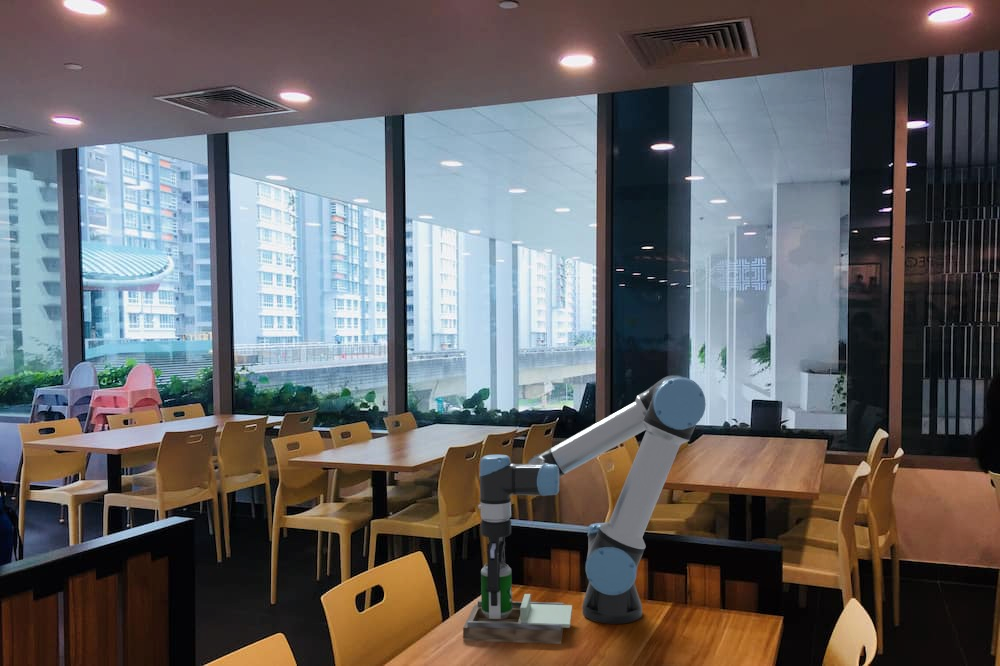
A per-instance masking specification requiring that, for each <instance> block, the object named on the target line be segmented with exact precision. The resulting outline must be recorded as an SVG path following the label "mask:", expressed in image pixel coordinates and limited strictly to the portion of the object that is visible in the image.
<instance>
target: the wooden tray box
mask: <svg viewBox="0 0 1000 666" xmlns="http://www.w3.org/2000/svg"><path fill="white" fill-rule="evenodd" d="M521 604H522V601H513V600H512V612H511V613H510V614H509V616H508V617H506V618H502V619H489V618H488V617H486V616H485V614H483V612H482V601H481V600H477V604H474V605H473V607H472V608H471V611H470V613H469V614H468V617H467V619H466V620H465V623H464V625H463V627H462V628H463V629H462V632H463V633H462V639H463V641H467V642H468V641H472V642H492V643H493V642H494V643H495V642H498V643H499V642H500V643H519V644H520V643H522V644H525V643H526V644H549V645H550V644H553V645H561V644H562V639H563V638H562V637H563V631H564V627H561V624H541V623H521V620H520V607H521ZM531 604H548V605H565V602H548V601H547V602H545V601H544V602H542V601H531Z"/></svg>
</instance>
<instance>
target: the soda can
mask: <svg viewBox="0 0 1000 666" xmlns="http://www.w3.org/2000/svg"><path fill="white" fill-rule="evenodd" d="M512 575H513V574H512V568H511V567H510V566H509V564H507V563H506V562H505V563H500V583H499V588H500V601H501V619H502V618H506V617H508V616H509V614H510V613H511V612H512V601H513V588H512V587H513V583H512V582H513V581H512V580H513V576H512ZM480 583H481V585H480V587H481V588H480V589H481V590H480V593H481V595H480V596H481V601H482V612H483V614H485V616H486V617H488V618H489V592H486V589H487V585H488V563H485V564H484V566H483V567H482V568H481V570H480Z"/></svg>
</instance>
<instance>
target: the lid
mask: <svg viewBox="0 0 1000 666" xmlns="http://www.w3.org/2000/svg"><path fill="white" fill-rule="evenodd" d="M531 596H532V594H531V593H524V595H523V598H522V601H521V602H522V604H521V607H520V620H521V623H541V624H561V627H563V629H564V628H567V629H569V628H571V621H572V612H573V604H564V605H548V604H531V602H532V600H531V599H532V598H531Z"/></svg>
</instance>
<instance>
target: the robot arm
mask: <svg viewBox="0 0 1000 666" xmlns="http://www.w3.org/2000/svg"><path fill="white" fill-rule="evenodd" d="M706 405H707V404H706V398H705V394H704V392H703V389H702V388H701V386H700V385H699V384H697V382H696V381H694V380H692V379H690V378H689V377H686V376H684V375H679V374H671V375H667V376H664V377H663V378H661V379H660V380H659V381H657V382H656V383H654V384H653V385H651V386H650V387H649V388H648V389H646V390H645V391H643V392H641V393H639V394H638V395H636V398H635V400H634V401H633V402H632V403H630V404H628V405H626V406H624V407H623V408H621V409H619V410H617V411H616V412H614V413H611V414H610V415H607V417H604V418H603V419H601V420H599V421H598V422H596V423H593V424H591V425H590V426H588V427H586V428H584V429H583V430H581V431H579V432H577V433H576V434H574V435H572V436H570V437H568V438H567V439H565V440H562V441H561V442H560V443H558V444H556V445H554V446H553V447H551V448H550V449H547V450H545V451H544V452H542V453H537V454H536V455H534V456H532V457H531V458H530V459H529V460H528V462H527V463H511V462H512V461H511V457H510V456H509V455H506V454H487V455H483V456H482V457H481V458H480V462H479V475H478V476H479V500H480V503H479V504H478V506H477V508H478V509H480V518H481V520H480V534H481V536H483V537H484V538H489V541H488V543H487V545H486V547H487V548H486V549H487V550H486V553H487V555H486V556H487V564H488V585H487V589H486V592H489V619H501V601H500V588H499V583H500V563H505V564H506V553H505V551H506V549H505V548H506V541H505V540H506V537H509V536H511V534H512V520H511V519H510V518H512V498H511V496H521V495H522V496H542V497H546V496H555V495H557V494H559V492H560V477H563V475H565V474H567V473H569V472H571V471H573V470H575V469H577V468H578V467H580V466H582V465H584V464H586V463H587V462H590V461H591V460H593V459H595V458H596V457H597V458H598V456H600V455H603V454H604V453H606V452H608V451H610V450H612V449H613V448H615V447H617V446H619V445H621V444H622V443H624V442H626V441H628V440H630V439H632V438H633V437H635V436H637V435H640V434H641V433H642V432H645V433H644V435H643V437H642V440H641V442H640V445H639V447H638V450H637V452H636V454H635V457H634V460H633V462H632V464H631V467H630V470H629V471H628V474H627V477H626V479H625V481H624V484H623V486H622V489H621V492H620V494H619V496H618V498H617V501H616V504H615V506H614V508H613V511H612V513H611V516H610V519H609V521H607V522H597V523H596V522H595V523H591V524H589V526H588V530H587V531H588V532H587V534H586V535H587V537H588V538H587V539H588V540H587V541H588V542H587V543H588V547H587V548H588V549H587V556H586V561H585V564H584V565H585V567H584V569H585V573H586V578H587V581H588V585H587V588H586V592H585V596H584V599H583V602H582V615H583V616H584V618H586V619H589V620H591V621H594V622H597V623H601V624H609V625H618V624H619V625H621V624H627V623H628V624H630V623H633V622H636V621H638V620H640V619H641V618H642V616H643V605H642V602H641V598H640V596H639V592H638V591H637V587H636V584H635V581H636V579H637V574H638V570H637V569H638V566H639V564H640V561H641V558H642V557H643V554H644V551H645V550H646V547H647V546H646V543H645V540H644V539H643V536H644V534H645V532H646V529H647V527H648V524H649V522H650V519H651V518H652V515H653V512H654V510H655V508H656V505H657V502H658V501H659V498H660V497H661V496H660V495H661V493H662V490H663V488H664V485H665V484H666V481H667V478H668V476H669V473H670V471H671V469H672V466H673V464H674V461H675V459H676V456H677V453H678V452H679V449H680V447H681V445H683V444H686V443H687V442H690V440H691V437H692V435H693V433H694V430H695V428H696V426H697V424H698V423H699V422H700V421H701V420H702V417H703V416H704V414H705V411H706Z"/></svg>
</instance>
